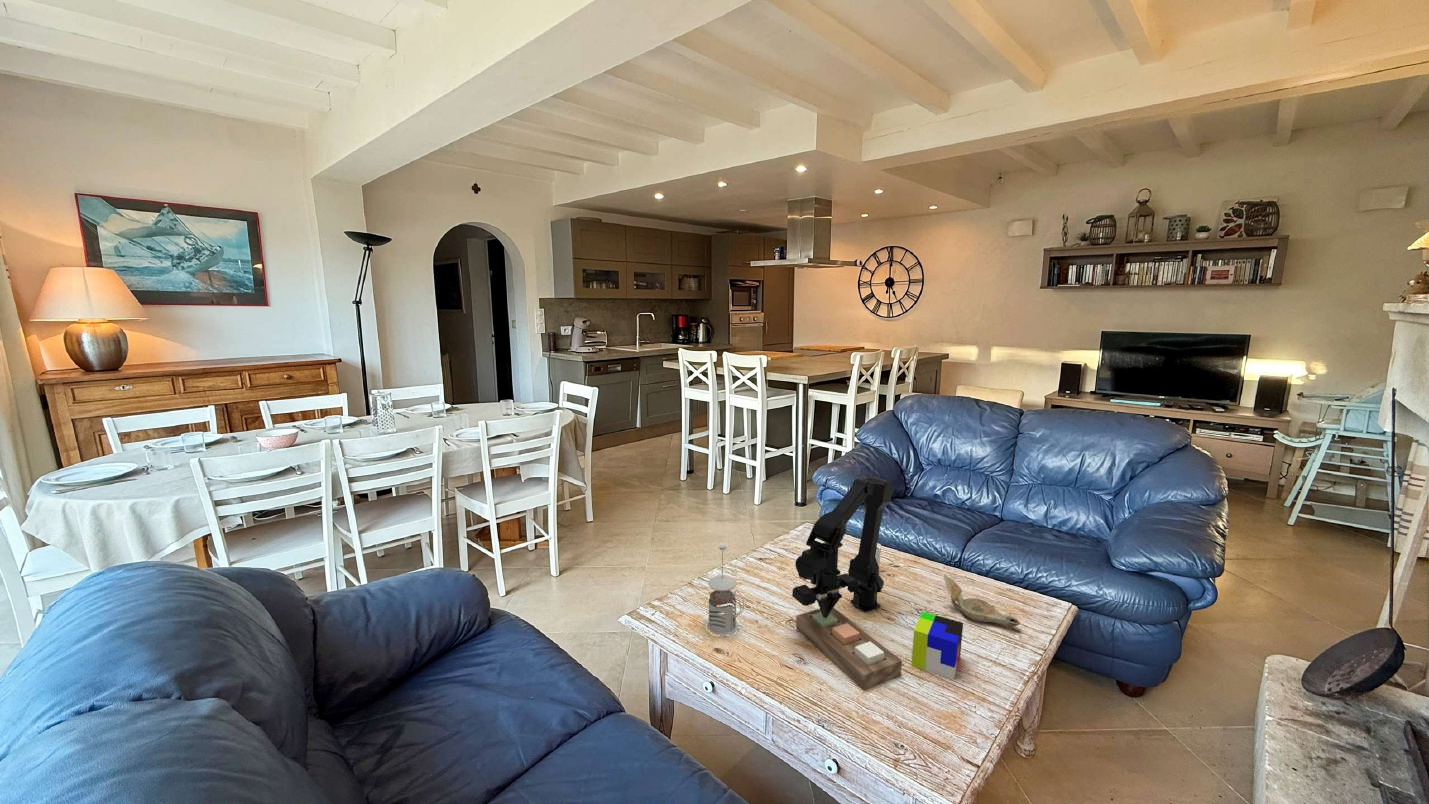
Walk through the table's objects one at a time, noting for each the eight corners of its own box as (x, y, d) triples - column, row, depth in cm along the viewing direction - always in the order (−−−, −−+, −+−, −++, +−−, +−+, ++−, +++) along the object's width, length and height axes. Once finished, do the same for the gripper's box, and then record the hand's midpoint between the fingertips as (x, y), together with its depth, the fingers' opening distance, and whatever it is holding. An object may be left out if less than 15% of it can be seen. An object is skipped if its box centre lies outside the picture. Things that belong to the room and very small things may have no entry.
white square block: (869, 651, 142) (870, 641, 141) (883, 663, 137) (884, 652, 137) (854, 657, 140) (854, 646, 139) (867, 669, 135) (868, 658, 135)
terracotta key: (846, 633, 150) (847, 623, 149) (859, 643, 145) (859, 632, 145) (831, 638, 148) (832, 627, 147) (844, 648, 143) (844, 638, 143)
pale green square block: (826, 620, 158) (826, 610, 157) (837, 629, 153) (837, 619, 153) (811, 624, 156) (812, 614, 155) (822, 633, 151) (822, 623, 151)
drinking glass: (880, 578, 185) (882, 550, 183) (860, 576, 186) (861, 548, 184) (878, 569, 191) (880, 541, 189) (858, 567, 192) (860, 540, 191)
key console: (830, 617, 162) (830, 605, 161) (900, 675, 137) (901, 660, 136) (796, 628, 157) (796, 615, 156) (863, 690, 132) (863, 675, 131)
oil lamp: (946, 599, 172) (949, 569, 170) (1022, 625, 158) (1026, 593, 156) (936, 610, 166) (938, 579, 164) (1014, 639, 152) (1017, 606, 150)
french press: (718, 613, 164) (718, 534, 159) (751, 626, 157) (752, 544, 153) (698, 629, 156) (697, 546, 152) (732, 644, 150) (733, 557, 145)
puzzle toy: (953, 680, 136) (956, 643, 134) (911, 665, 141) (913, 630, 139) (960, 657, 144) (963, 622, 142) (920, 645, 149) (922, 611, 147)
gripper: (835, 546, 162) (833, 595, 165) (781, 559, 154) (780, 610, 157) (861, 562, 153) (858, 614, 155) (805, 577, 144) (803, 631, 147)
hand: (824, 617), depth 154 cm, fingers closed, pressing on pale green square block
